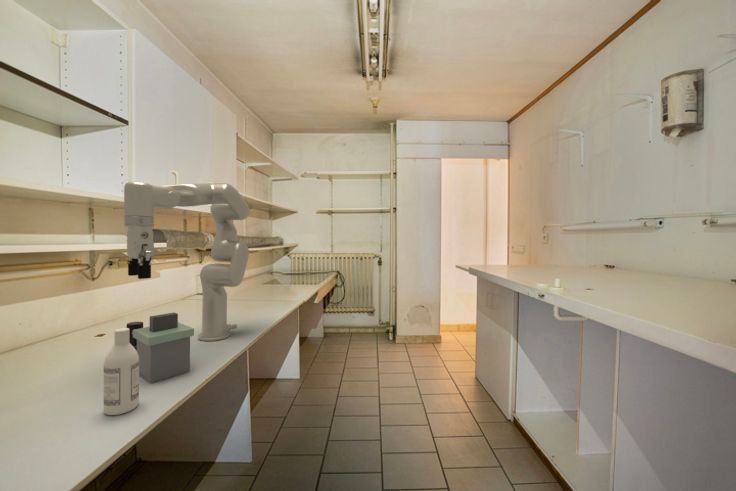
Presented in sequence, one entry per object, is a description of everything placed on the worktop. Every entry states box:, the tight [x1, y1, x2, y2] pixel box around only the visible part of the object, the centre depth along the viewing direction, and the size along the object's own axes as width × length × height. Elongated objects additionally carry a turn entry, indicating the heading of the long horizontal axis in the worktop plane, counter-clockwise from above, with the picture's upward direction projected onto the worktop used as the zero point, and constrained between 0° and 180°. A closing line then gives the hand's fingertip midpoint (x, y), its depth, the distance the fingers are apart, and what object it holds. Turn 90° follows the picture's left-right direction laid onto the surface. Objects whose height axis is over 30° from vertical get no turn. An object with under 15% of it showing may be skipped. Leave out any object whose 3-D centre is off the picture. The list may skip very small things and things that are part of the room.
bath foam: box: [103, 327, 140, 416], centre depth 78 cm, size 7×7×20 cm
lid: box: [133, 312, 195, 346], centre depth 98 cm, size 13×13×7 cm
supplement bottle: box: [125, 321, 144, 351], centre depth 111 cm, size 7×7×12 cm
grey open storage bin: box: [137, 336, 191, 384], centre depth 99 cm, size 11×11×13 cm
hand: (139, 276), depth 98 cm, fingers open, 9 cm apart
